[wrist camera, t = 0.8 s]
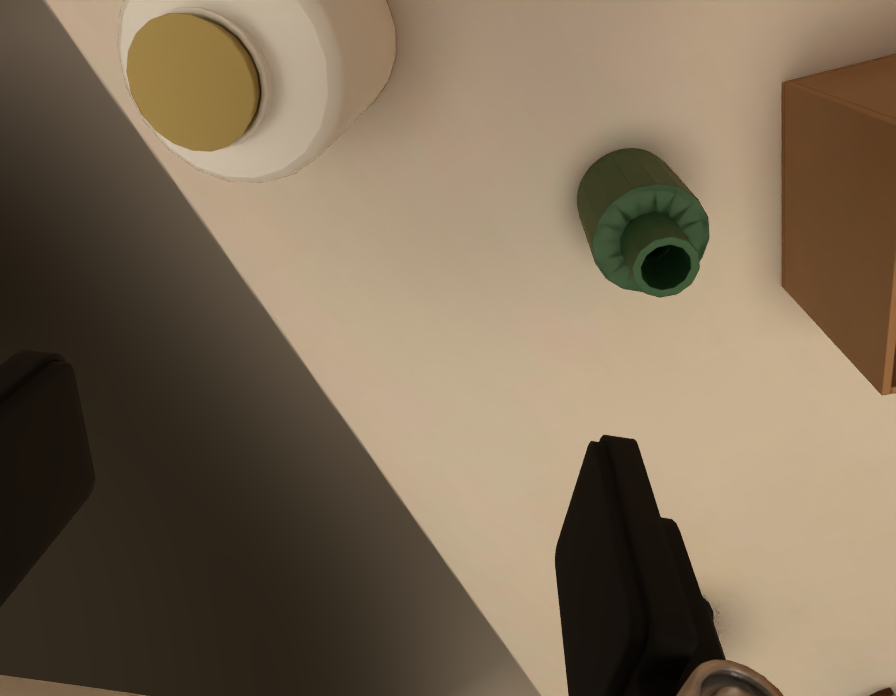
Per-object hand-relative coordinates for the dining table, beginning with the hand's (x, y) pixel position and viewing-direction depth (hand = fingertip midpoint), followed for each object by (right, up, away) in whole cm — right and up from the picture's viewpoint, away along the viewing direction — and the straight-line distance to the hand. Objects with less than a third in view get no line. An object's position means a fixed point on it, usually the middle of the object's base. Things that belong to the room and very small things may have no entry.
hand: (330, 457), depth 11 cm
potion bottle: (-5, +20, +24) cm, 31 cm away
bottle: (+13, +11, +27) cm, 32 cm away
